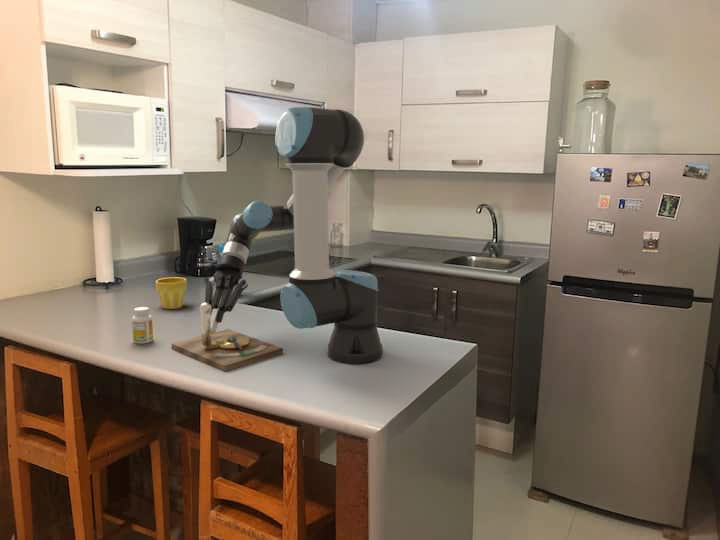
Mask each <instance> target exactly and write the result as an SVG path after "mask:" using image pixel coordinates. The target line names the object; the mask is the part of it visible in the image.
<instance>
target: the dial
mask: <svg viewBox="0 0 720 540" xmlns="http://www.w3.org/2000/svg"><path fill="white" fill-rule="evenodd" d="M198 310H199V312H200V329H201V332H200V333H201V335H200V336H202V345H203V346H204V347H205V349H212V348H220V349H226V350H233V349H239V350H240V351H243V349H242V348H244V347H246V346H248V345H249V339H248V338H246V337H243V336H227V337H222V338H219V339H217V340H216V342H212V337H211V310H212V307H211V305H210V304H209V303H205V302H202V303H201V304H200V305H199V309H198Z"/></svg>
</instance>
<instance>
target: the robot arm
mask: <svg viewBox="0 0 720 540" xmlns="http://www.w3.org/2000/svg"><path fill="white" fill-rule="evenodd" d="M274 139H275V146H276V148H277V152H278V154H279V155H280V156H281V157H283V158H285V165H286V167H287V168H289V170H291V172H292V194H291V196H290V198H289V199H287V202H285V204H284V205H269V204H268V203H267V202H264V201H261V200H255V201H253V202H251V203H249V204H248V206H246V207H245V208H244V209H243V212H241V213H239V214H236V215H235V216H234V217H233V218H232V222H231V223H230V227H229V231H228V234H227V237H226V240H225V243H224V244H225V246H224V249H223V251H222V254H220V256H221V258H220V257H219V258H220V261H219V264H218V263H217V266H216V272H215V273H213V276H212V277H210V278H209V277H205V278H204V284H205V298H204V303H209V304H210V305H211V307H212V310H211V334H215V332H216V331H217V328H218V326H219V324H220V323H222V322H223V318H224V315H225V313H226V312H228V313H229V312H230V313H231V312H232V311H233V309H234V307H235V305H236V304H237V302H238V300H239V298H240V297H241V296H240V295H242V294H243V292H244V291H245V290H246V289H247V288H248V287H249V285H248V283H247V281H246V279H243V274H244V270H245V266H246V264H247V259H248V258H249V253H250V250H251V247H252V244H253V241H254V240H255V239H256V237H258V236H259V235H260V233H264V232H265V233H267V232H278V231H292V230H293V243H294V244H293V245H294V247H293V248H294V269H293V270H292V271H291V272H290V273H289V274H288V277H289V278H288V281H289V283H286V284H285V285H283V286H282V288H281V290H280V295H279V297H280V298H279V299H280V305H281V306H280V307H281V310H282V312H283V314H284V317H285V318H286V319H287V321H288V322H289V323H290V325H291V326H293V327H294V328H296V329H299V330H301V329H302V330H304V329H313V328H314V329H315V328H316V327H321V326H326V325H330V324H333V330H332V333H331V336H330V339H329V342H328V345H327V357H329V359H331V360H332V361H336V362H339V363H343V364H353V365H354V364H355V365H356V364H357V365H358V364H359V365H360V364H368V363H373V362H375V361H379V360H380V359H381V358H383V355H384V353H383V352H384V347H383V344H382V343H381V339H380V334H379V331H378V297H379V288H378V287H379V286H378V278H377V277H376V275H374V274H372V273H370V272H366V271H359V270H352V269H351V270H350V269H337V270H335V271H333V270H332V269H331V268H330V257H329V256H330V249H329V247H330V246H329V245H330V243H329V192H328V191H329V190H330V188H331V187H332V186H333V184H334V183H335V182H336V180H337V179H338V178H339V177H340V175H341V174H342V173H343V171H345V170H346V169H349V168H351V167H352V166H353V165H354V164H355V163H356V161H357V160H358V158H359V157H360V155H361V153H362V151H363V147H364V143H365V134H364V129H363V126H362V124H361V123H360V121H359V119H358V118H357V117H356V116H355V115H353V114H352V113H351V112H349V111H347V110H343V109H331V108H330V109H329V108H318V107H310V106H309V107H308V106H303V107H302V106H299V107H298V106H297V107H290V108H288V109H286V110H285V111H284V112H283V114H282V115H281V117H280V118H279V120H278V122H277V125H276V131H275V138H274ZM215 284H216V286H215V291H214V287H213V286H214V285H215ZM237 284H238V285H237ZM236 285H237V286H236ZM235 286H236V288H235V290H234V291H233V288H234V287H235ZM232 291H233V293H232ZM213 292H214V293H213ZM231 293H232V295H231ZM222 294H223V295H222ZM230 295H231V296H230ZM221 297H222V298H221Z"/></svg>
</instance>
